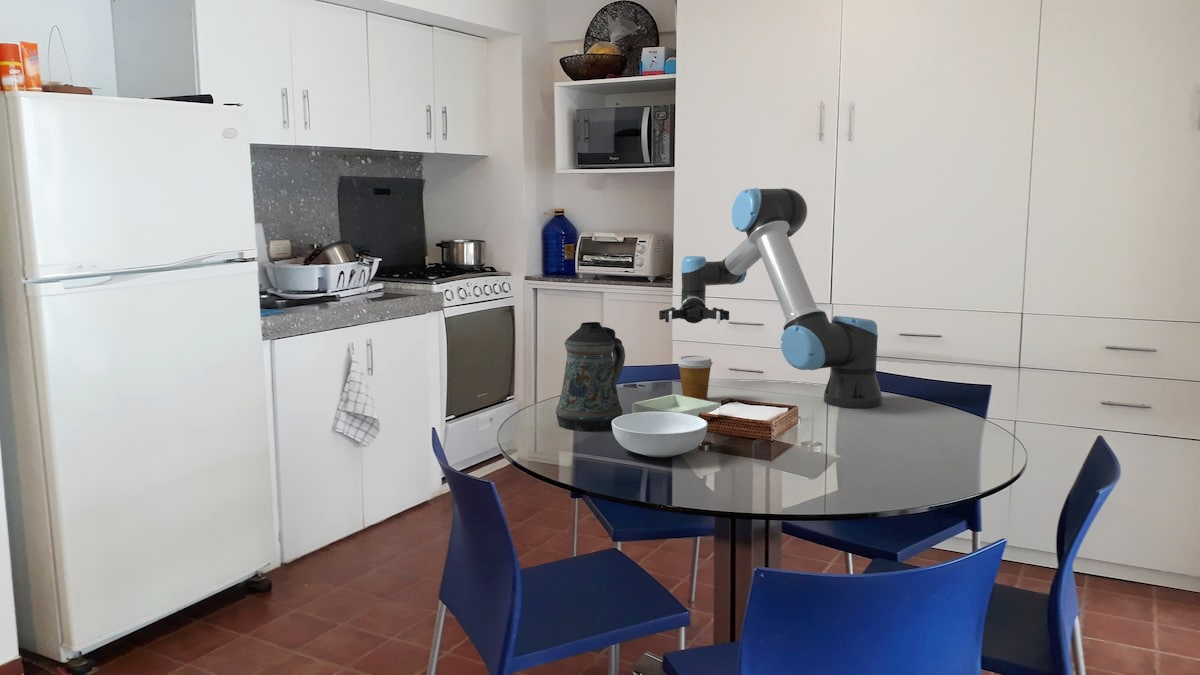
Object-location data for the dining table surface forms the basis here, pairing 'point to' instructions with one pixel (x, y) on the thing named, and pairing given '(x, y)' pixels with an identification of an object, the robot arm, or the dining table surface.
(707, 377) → the disposable coffee cup
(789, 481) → the dining table surface
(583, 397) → the beer stein
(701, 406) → the tray
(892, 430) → the dining table surface
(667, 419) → the serving bowl
